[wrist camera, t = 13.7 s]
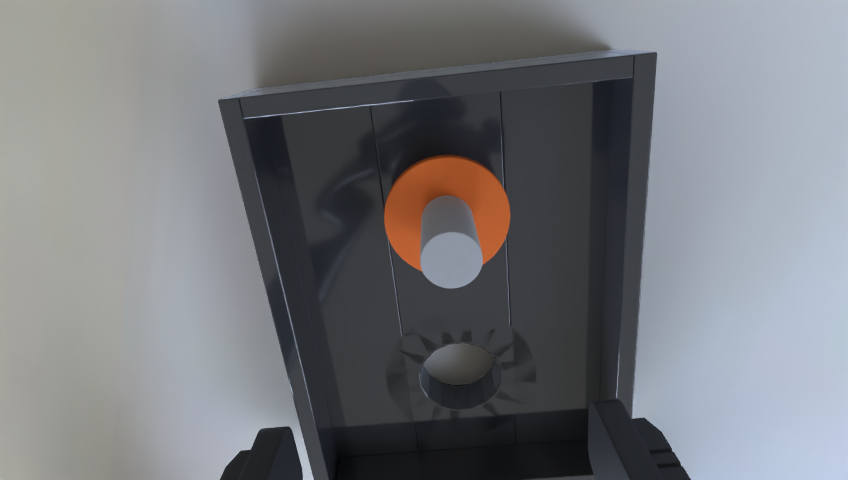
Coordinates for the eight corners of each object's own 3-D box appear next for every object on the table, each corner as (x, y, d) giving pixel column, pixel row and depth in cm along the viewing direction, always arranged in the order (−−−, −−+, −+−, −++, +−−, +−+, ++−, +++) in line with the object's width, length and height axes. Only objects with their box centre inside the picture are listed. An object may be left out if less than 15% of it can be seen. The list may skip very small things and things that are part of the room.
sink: (334, 442, 38) (328, 468, 35) (255, 88, 28) (239, 92, 26) (600, 422, 37) (611, 447, 35) (614, 48, 27) (632, 50, 25)
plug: (395, 258, 29) (384, 333, 22) (380, 151, 27) (363, 194, 19) (504, 248, 29) (531, 320, 22) (499, 139, 26) (527, 178, 19)
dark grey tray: (328, 468, 35) (319, 505, 33) (239, 92, 26) (216, 99, 23) (611, 447, 35) (627, 483, 32) (632, 50, 25) (657, 51, 22)
